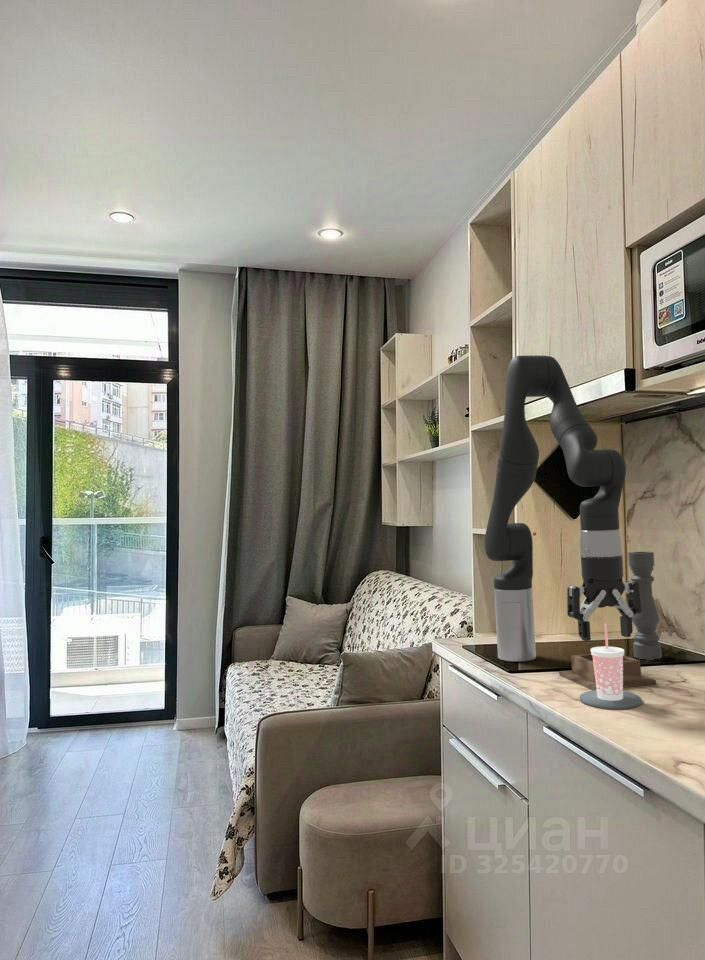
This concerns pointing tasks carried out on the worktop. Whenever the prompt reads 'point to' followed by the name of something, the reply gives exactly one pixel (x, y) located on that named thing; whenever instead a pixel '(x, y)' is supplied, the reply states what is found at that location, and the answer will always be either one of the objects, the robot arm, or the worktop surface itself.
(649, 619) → the candle holder
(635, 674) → the stepped square tray
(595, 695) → the slate coaster
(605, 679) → the beverage cup
